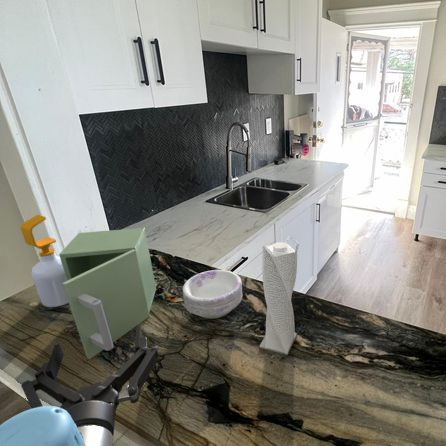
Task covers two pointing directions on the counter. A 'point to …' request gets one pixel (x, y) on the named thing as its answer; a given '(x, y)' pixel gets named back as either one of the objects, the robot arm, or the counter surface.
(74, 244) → the cupboard
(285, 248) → the skyscraper
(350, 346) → the counter surface
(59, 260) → the soap bottle
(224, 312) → the paper bowls
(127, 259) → the cupboard door
